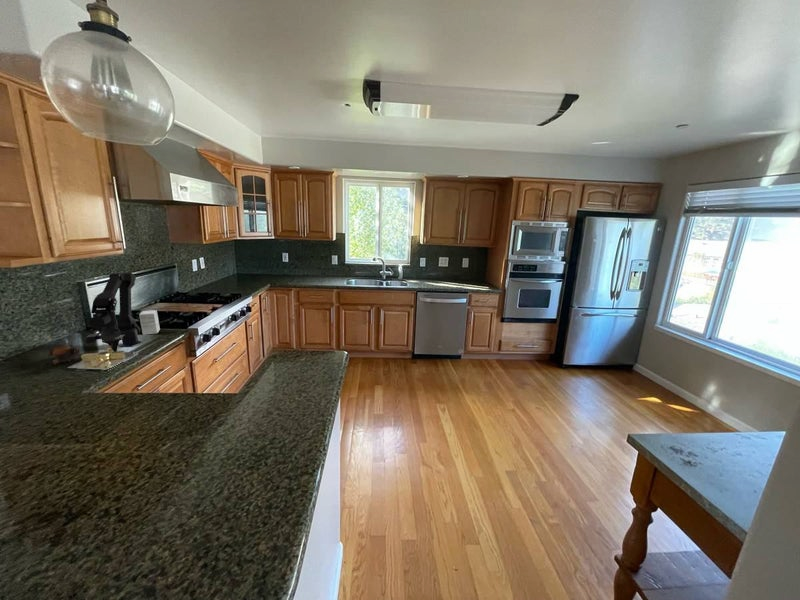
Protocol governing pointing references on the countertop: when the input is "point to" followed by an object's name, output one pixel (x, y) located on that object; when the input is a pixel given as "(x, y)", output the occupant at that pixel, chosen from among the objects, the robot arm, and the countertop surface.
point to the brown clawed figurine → (63, 353)
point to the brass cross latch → (102, 356)
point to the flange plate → (104, 362)
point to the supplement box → (149, 322)
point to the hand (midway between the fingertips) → (115, 352)
